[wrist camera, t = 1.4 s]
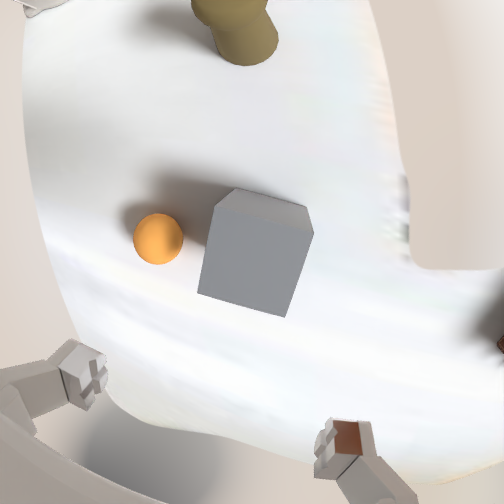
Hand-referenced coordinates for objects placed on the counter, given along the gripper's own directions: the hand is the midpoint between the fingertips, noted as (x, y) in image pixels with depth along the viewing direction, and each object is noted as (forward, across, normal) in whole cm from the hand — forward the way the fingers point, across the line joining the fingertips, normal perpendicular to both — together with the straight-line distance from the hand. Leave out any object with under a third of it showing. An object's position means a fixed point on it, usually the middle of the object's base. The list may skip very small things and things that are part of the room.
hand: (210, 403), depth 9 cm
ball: (+19, +10, +2) cm, 22 cm away
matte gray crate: (+22, +1, 0) cm, 22 cm away
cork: (+22, +6, -19) cm, 29 cm away
